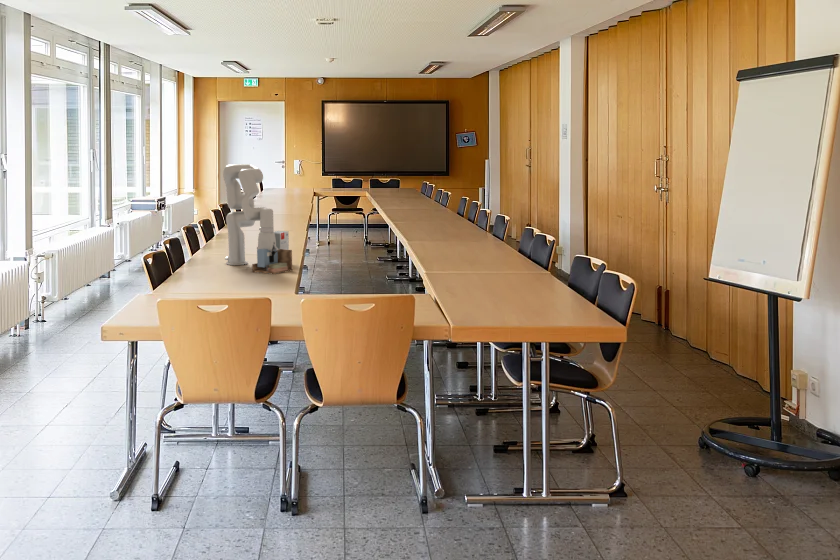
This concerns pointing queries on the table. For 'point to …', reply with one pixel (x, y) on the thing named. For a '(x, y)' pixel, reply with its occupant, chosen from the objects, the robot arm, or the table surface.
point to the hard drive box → (282, 239)
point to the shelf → (281, 259)
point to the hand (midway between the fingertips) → (267, 261)
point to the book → (265, 258)
